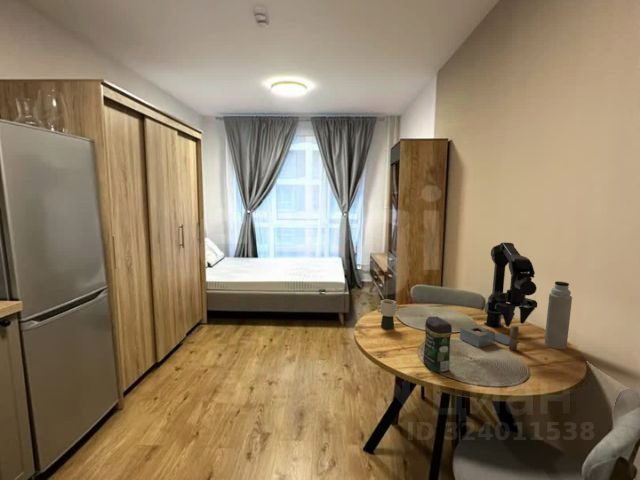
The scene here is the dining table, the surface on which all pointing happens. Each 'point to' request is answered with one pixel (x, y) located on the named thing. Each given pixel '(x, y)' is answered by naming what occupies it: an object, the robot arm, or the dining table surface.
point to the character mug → (388, 313)
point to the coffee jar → (437, 344)
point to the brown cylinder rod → (513, 338)
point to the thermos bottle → (558, 316)
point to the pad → (503, 339)
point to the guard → (477, 335)
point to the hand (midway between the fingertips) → (514, 324)
